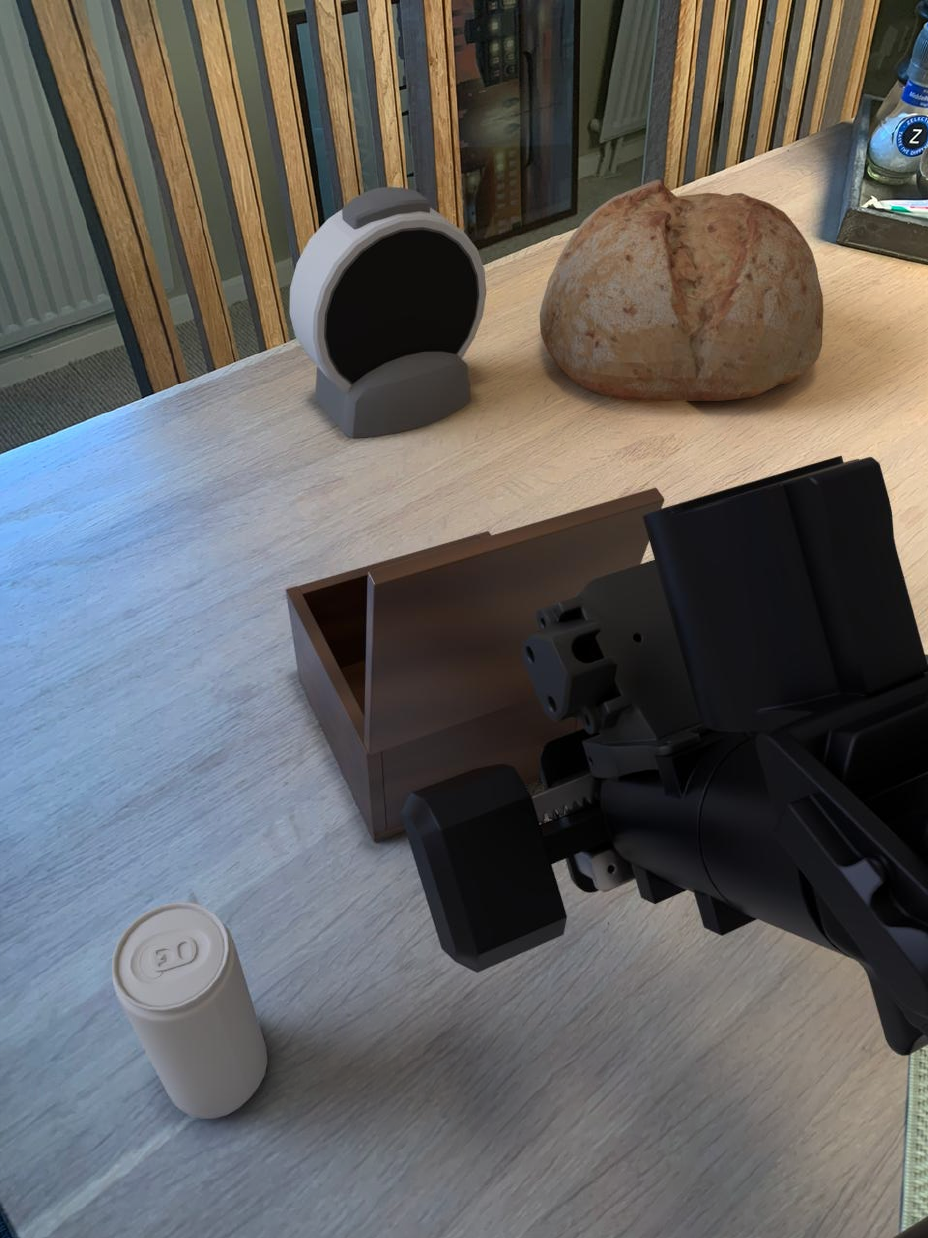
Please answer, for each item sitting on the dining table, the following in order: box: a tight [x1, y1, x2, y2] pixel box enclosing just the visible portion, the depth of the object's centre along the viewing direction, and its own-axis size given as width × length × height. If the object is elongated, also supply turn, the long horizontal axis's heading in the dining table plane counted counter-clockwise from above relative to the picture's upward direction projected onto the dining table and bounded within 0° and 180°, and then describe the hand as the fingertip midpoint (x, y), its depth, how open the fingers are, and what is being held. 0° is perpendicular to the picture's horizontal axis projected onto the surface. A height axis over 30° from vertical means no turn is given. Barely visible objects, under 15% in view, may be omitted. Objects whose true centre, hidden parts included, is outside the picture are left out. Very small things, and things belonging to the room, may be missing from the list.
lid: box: [364, 487, 665, 755], centre depth 47 cm, size 14×14×1 cm
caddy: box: [285, 530, 584, 844], centre depth 60 cm, size 14×14×8 cm
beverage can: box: [111, 901, 268, 1120], centre depth 44 cm, size 5×5×12 cm
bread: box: [538, 179, 824, 402], centre depth 91 cm, size 26×23×15 cm
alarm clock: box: [289, 186, 487, 439], centre depth 83 cm, size 16×10×18 cm, turn 121°
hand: (567, 770), depth 45 cm, fingers closed
